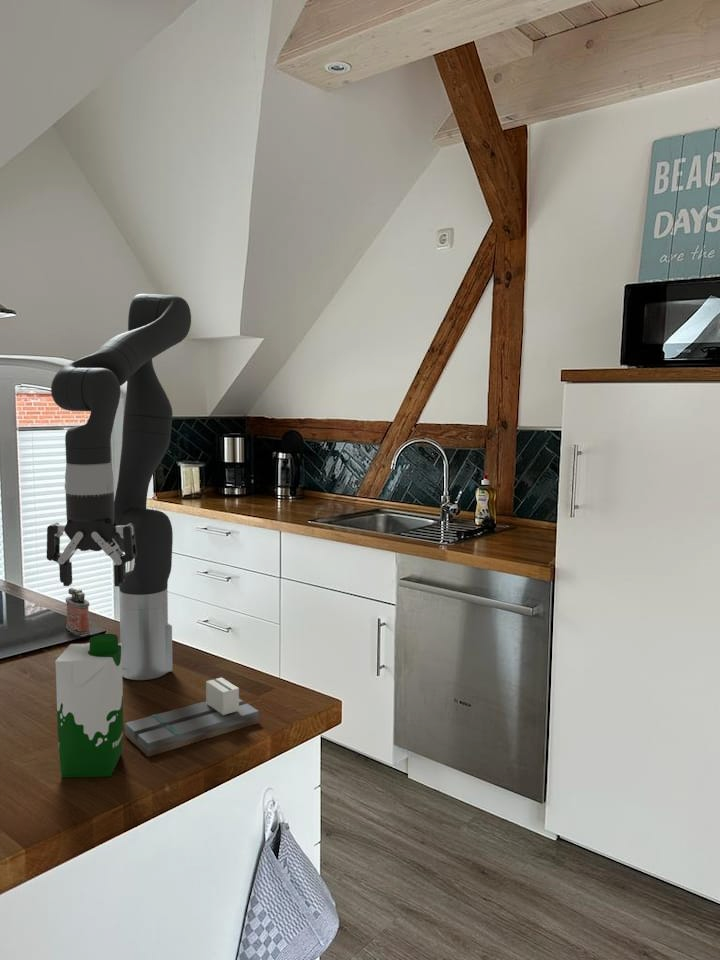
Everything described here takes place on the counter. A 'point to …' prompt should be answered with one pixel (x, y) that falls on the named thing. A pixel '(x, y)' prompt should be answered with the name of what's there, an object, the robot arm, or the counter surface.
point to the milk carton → (90, 707)
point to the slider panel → (186, 726)
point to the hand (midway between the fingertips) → (93, 585)
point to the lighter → (77, 612)
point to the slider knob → (222, 696)
